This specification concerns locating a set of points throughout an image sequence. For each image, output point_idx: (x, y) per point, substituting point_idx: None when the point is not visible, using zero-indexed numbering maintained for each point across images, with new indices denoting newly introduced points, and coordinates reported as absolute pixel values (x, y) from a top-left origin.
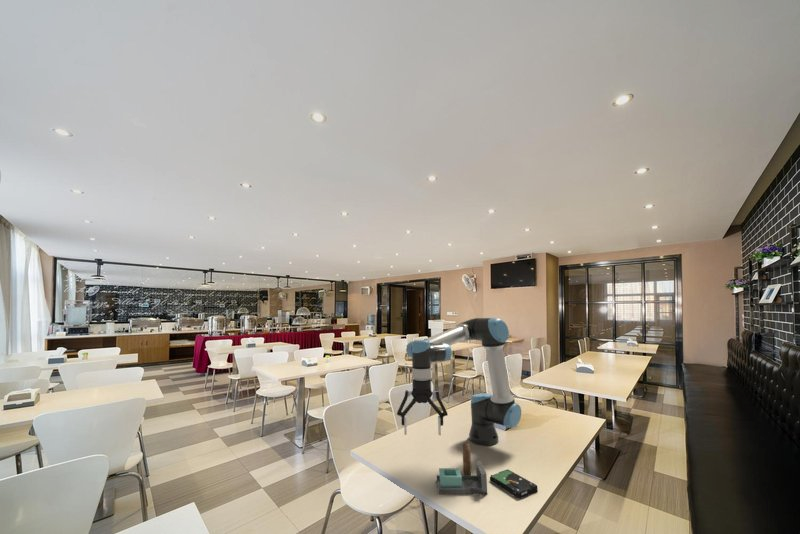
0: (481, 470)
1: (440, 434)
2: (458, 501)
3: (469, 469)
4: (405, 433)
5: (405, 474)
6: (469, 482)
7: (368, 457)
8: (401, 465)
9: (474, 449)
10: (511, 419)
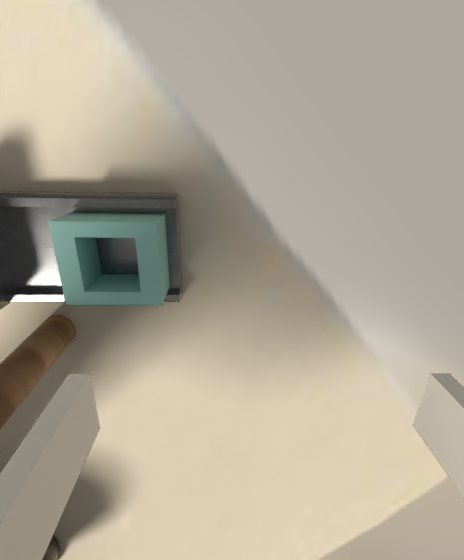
0: None
1: (68, 379)
2: (93, 135)
3: (33, 332)
4: (448, 384)
5: (301, 331)
6: (43, 263)
7: None
8: (310, 388)
9: None
10: None
